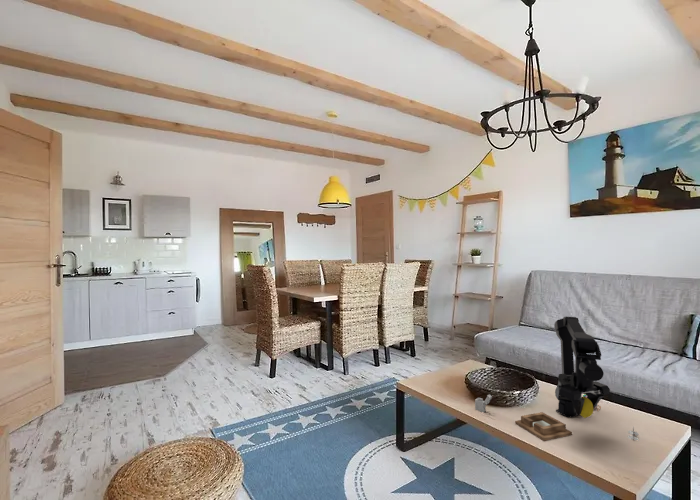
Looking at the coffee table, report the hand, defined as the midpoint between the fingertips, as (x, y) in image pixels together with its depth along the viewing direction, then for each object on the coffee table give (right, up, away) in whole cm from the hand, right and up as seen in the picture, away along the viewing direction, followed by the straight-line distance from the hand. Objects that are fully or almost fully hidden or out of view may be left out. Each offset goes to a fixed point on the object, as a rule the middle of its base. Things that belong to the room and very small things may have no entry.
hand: (584, 413), depth 133 cm
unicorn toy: (+18, -10, +30) cm, 36 cm away
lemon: (0, -2, 0) cm, 2 cm away
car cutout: (+23, -11, +5) cm, 26 cm away
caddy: (-11, -10, +8) cm, 17 cm away
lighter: (-29, -10, +23) cm, 38 cm away
